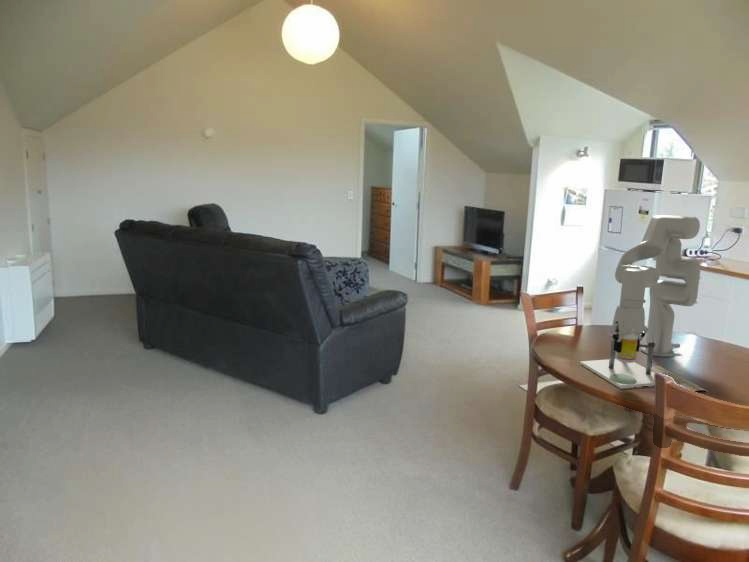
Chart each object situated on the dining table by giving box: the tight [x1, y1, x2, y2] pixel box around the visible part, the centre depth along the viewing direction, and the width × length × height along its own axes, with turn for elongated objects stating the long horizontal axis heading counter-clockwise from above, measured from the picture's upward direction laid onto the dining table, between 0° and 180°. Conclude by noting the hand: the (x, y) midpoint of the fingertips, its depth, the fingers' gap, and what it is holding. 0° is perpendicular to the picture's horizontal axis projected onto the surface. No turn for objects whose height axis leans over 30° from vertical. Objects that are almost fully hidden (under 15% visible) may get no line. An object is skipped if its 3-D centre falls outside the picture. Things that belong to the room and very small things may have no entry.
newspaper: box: [651, 365, 708, 393], centre depth 196 cm, size 24×7×2 cm, turn 9°
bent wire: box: [609, 339, 655, 375], centre depth 203 cm, size 12×16×13 cm
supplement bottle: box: [615, 329, 638, 363], centre depth 190 cm, size 7×7×13 cm
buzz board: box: [579, 358, 655, 390], centre depth 201 cm, size 21×25×2 cm
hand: (626, 350), depth 190 cm, fingers closed on supplement bottle, 6 cm apart
